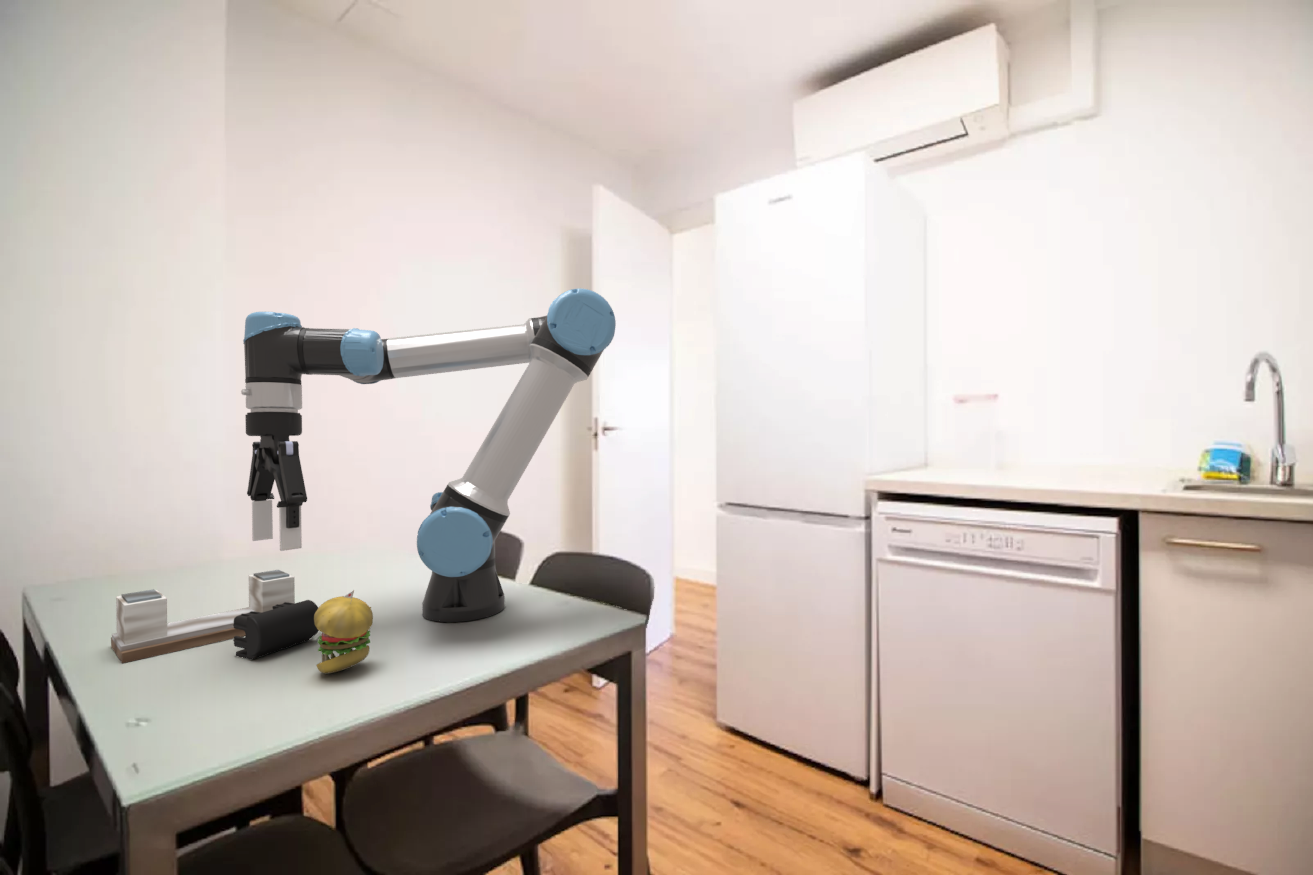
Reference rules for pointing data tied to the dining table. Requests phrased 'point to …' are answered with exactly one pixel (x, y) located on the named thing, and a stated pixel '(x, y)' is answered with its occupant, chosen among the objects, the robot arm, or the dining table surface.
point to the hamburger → (343, 632)
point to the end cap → (275, 628)
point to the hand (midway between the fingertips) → (276, 544)
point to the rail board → (152, 635)
